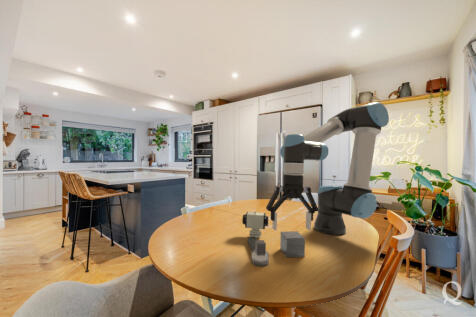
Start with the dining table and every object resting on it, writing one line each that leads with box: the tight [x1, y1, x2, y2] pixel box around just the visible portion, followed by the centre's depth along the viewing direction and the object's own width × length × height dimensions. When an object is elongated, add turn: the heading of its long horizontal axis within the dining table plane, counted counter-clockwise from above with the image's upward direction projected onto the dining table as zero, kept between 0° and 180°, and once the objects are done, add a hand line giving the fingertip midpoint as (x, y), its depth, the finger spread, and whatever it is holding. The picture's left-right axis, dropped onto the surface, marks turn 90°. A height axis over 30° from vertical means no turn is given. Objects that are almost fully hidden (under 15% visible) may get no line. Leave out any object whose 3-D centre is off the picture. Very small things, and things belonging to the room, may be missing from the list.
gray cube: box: [279, 231, 306, 258], centre depth 78 cm, size 7×7×7 cm
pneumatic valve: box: [241, 210, 269, 239], centre depth 93 cm, size 6×12×12 cm, turn 78°
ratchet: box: [247, 236, 270, 268], centre depth 77 cm, size 6×20×7 cm, turn 7°
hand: (291, 229), depth 78 cm, fingers open, 13 cm apart
